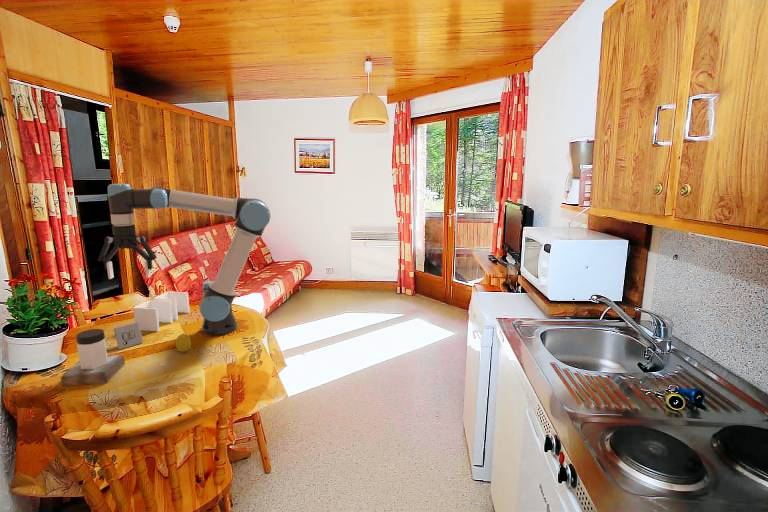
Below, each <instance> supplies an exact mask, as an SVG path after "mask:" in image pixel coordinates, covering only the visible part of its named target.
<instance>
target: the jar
mask: <svg viewBox="0 0 768 512" xmlns="http://www.w3.org/2000/svg"><path fill="white" fill-rule="evenodd" d="M75 340H76V343H77V344H76V346H77V347H76V348H77V353H78V359H79V360H78V361H80V367H81V369H96V368H98V367H101V366H104V365H106V364H108V356H109V355H108V351H107V344H106V336H105V331H104V329H101V328H91V329H88V330H86V329H85V330H84V331H83V330H82V331H81V332H78V333H77V334H76V335H75Z"/></svg>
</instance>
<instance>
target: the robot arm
mask: <svg viewBox="0 0 768 512" xmlns="http://www.w3.org/2000/svg"><path fill="white" fill-rule="evenodd" d="M107 199H108V204H109V213H110V221H111V224H112V226H111V228H112V229H111V230H112V235H113V237H111V236H107V237H104V240H103V241H104V244H103V246H102V248H101V251H100V253H99V255H98V258H97V261H98V262H102V263H103V265H104V270H105V271H107V277H108V280H112V279H113V278H115V275H114V268H113V267H114V266H113V262H112V261H111V259H112V258H113V256H115V254H116V253H117V252H118V250H119V249H122V250H124V249H129V250H130V249H132V250H134V251H135V252H136V253H137V254H139V256H141V258H143V259H144V260H145V261H144V269H145V278H146V279H149V278H150V277H152V275H151V274H152V272H151V270H152V269H153V261H155V260H156V259H157V254H155V252H154V251H153V249H152V247H151V246H150V244H149V243H148V242H147V238H146V236H144V235H143V236H138V237H137V231H136V225H135V214H134V209H135V210H138V209H140V210H143V209H144V210H146V209H149V210H151V209H153V210H154V209H156V210H159V209H166V208H170V209H171V208H173V209H178V210H179V209H180V210H186V211H187V210H188V211H194V212H199V213H200V212H201V213H208V214H212V215H213V214H215V215H222V216H229V217H232V218H233V220H236V221H235V223H234V227H235V233H234V235H233V238H232V240H231V242H230V244H229V247H228V249H227V251H226V254H225V256H224V258H223V260H222V262H221V265H220V267H219V269H218V271H217V275H216V277H215V279H214V280H210V281H206V282H204V283H203V284H202V288H201V289H202V292H203V293H202V295H203V296H202V299H201V302H200V303H199V311H200V314H201V316H202V317H203V321H202V326H201V329H202V330H201V331H202V334H205V335H208V336H222V335H227V334H230V333H232V332H234V331H236V330H235V329H238V321H237V320H236V317H235V315H234V313H233V307H232V305H233V302H234V300H235V297H236V294H237V292H236V290H235V289H236V286H237V283H238V280H239V278H240V277H241V274H242V272H243V270H244V267H245V265H246V263H247V261H248V258H249V255H250V253H251V251H252V249H253V246H254V245H255V242H256V239H257V238H260V237H262V236H263V233H264V231H265V228H266V226H268V225H269V224H270V223H269V222H270V220H271V212H270V209H269V207H268V205H267V204H266V203H265V202H264V201H263V200H260V199H258V198H248V197H247V198H246V197H237V196H236V197H235V198H228V197H222V196H221V197H220V196H216V195H215V196H214V195H209V194H202V193H196V192H195V193H194V192H190V191H189V192H188V191H183V190H175V189H169V188H163V187H162V186H152V187H150V188H144V189H143V188H142V189H138V188H137V189H136V188H132V187H131V185H130V184H129V183H111V184H108V186H107ZM113 242H114V244H115V245H114V246H113V247H112V248H111V250H110V251H109V253H108V250H109V248H110V247H111V246H110V245H111V244H112V243H113ZM137 242H139V243H140V244H141V246H142V247H143V248H142V247H140V245H139V244H138V243H137ZM107 253H108V254H107Z"/></svg>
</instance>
